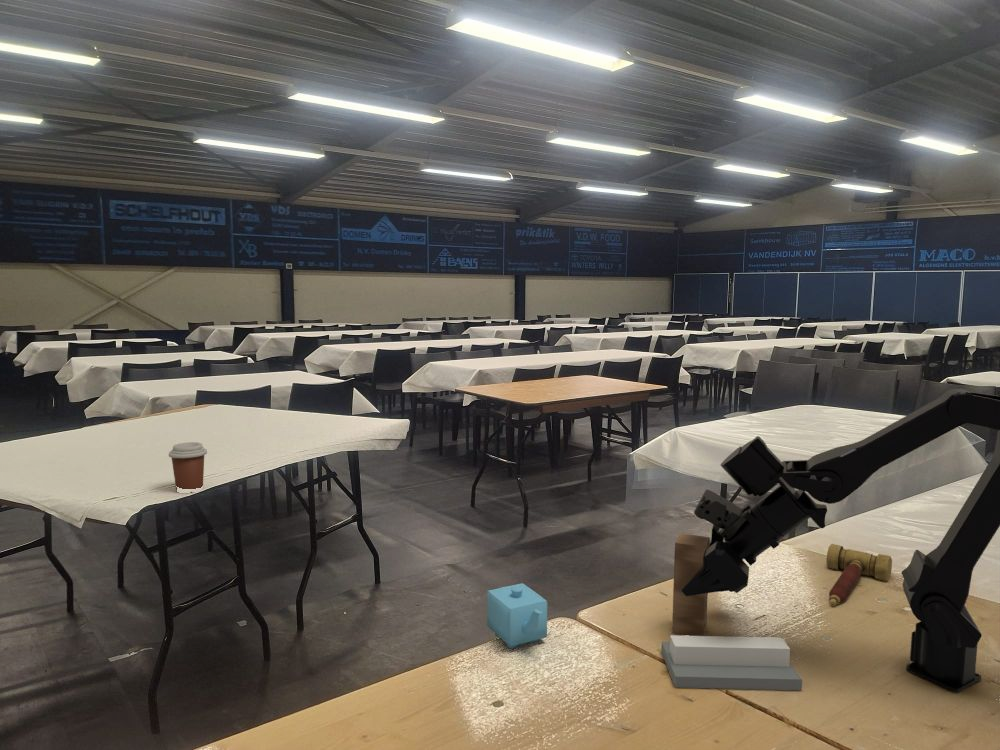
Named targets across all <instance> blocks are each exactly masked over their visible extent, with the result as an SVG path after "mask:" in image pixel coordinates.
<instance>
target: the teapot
mask: <svg viewBox="0 0 1000 750" xmlns="http://www.w3.org/2000/svg"><path fill="white" fill-rule="evenodd" d="M486 593H487V600H486V601H487V604H486V605H487V607H486V609H487V611H486V614H487V615H486V618H487V619H486V624H487V625H486V626H487V627H488V628H489V629H491V631H492V632H493V633H495V634H494V636H495V637H498V638H500V639H501V640H502V641H503V642H504V643H505V644H506V647H507V648H509V649H515V648H517V646H519V645H523V644H526V643H530V642H531V643H536V642H539V640H541V639H545V638H547V636H548V601H547V600H546V599H545V598H544V597H542V596H541V595H540V594H539V593H537V592H536V591H534V590H533V589H532V588H531V587H529V586H527V585H526V584H524V583H522V582H521V583H517V584H512V585H508V586H501V587H499V588H495V589H490V590H487V592H486Z"/></svg>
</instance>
